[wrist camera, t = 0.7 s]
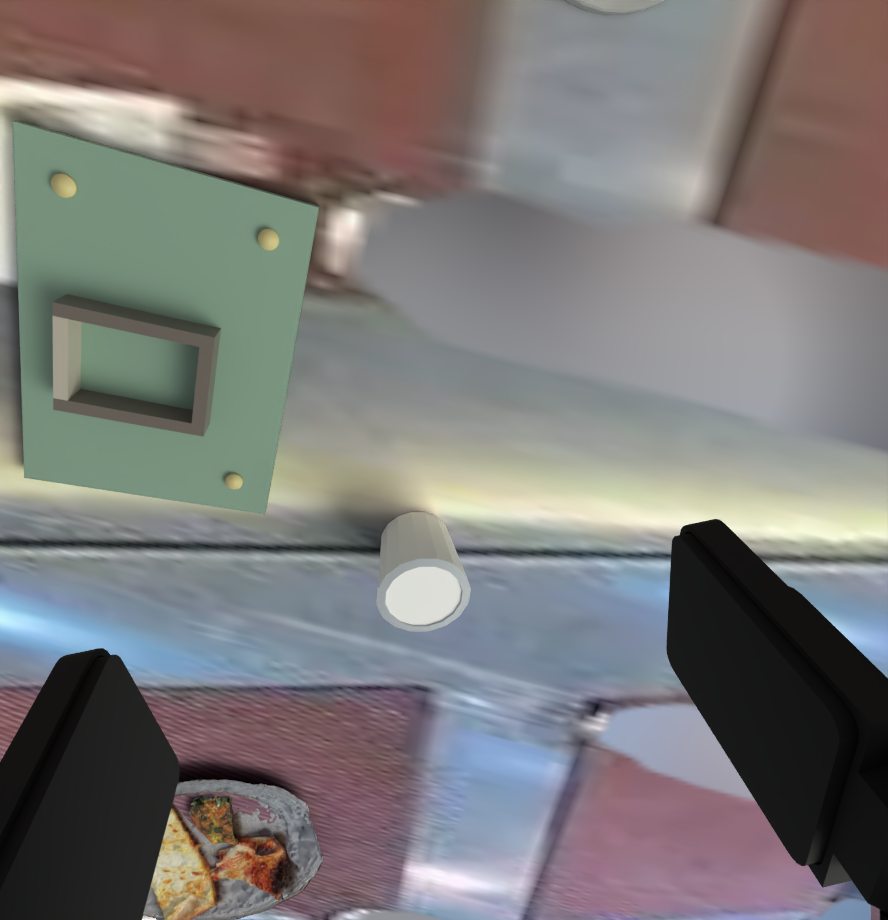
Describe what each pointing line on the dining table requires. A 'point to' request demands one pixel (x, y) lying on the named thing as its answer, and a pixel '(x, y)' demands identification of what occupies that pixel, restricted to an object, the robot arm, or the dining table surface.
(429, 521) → the gray cup
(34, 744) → the robot arm
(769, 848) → the dining table surface
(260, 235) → the board
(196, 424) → the socket
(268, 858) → the food plate
